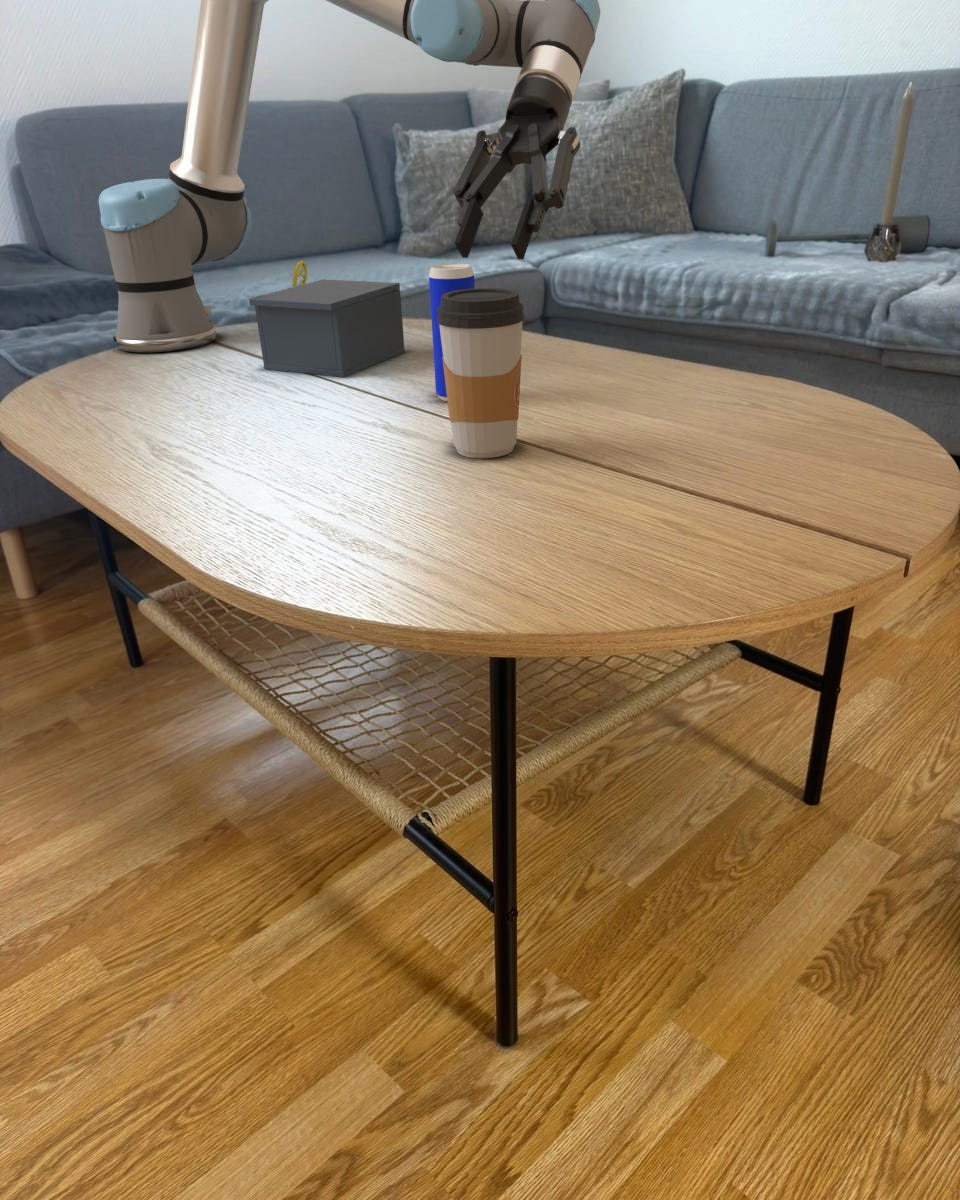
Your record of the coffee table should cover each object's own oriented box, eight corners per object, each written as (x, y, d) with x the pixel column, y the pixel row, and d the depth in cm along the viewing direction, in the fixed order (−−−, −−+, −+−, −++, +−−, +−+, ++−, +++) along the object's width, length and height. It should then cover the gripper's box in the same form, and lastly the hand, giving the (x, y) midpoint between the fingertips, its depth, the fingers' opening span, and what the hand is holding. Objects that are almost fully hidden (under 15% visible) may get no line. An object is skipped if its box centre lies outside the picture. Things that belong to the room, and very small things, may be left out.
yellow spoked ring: (302, 362, 147) (261, 323, 139) (291, 360, 149) (250, 321, 141) (341, 300, 149) (304, 259, 141) (330, 299, 151) (292, 257, 143)
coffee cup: (527, 461, 84) (525, 301, 77) (441, 463, 85) (432, 304, 78) (524, 434, 92) (523, 285, 85) (446, 436, 92) (438, 288, 85)
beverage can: (485, 393, 107) (481, 263, 100) (467, 404, 103) (461, 270, 95) (448, 389, 109) (441, 262, 102) (428, 400, 105) (420, 269, 97)
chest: (343, 377, 116) (335, 309, 112) (264, 369, 122) (254, 304, 118) (404, 351, 128) (400, 289, 124) (330, 345, 134) (323, 285, 130)
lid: (331, 310, 111) (330, 303, 111) (249, 305, 117) (248, 298, 117) (400, 289, 124) (399, 282, 124) (323, 285, 130) (322, 279, 129)
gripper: (623, 118, 109) (572, 273, 105) (483, 124, 118) (430, 268, 113) (610, 67, 103) (555, 231, 98) (463, 78, 111) (406, 228, 106)
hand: (488, 250), depth 106 cm, fingers open, 7 cm apart
